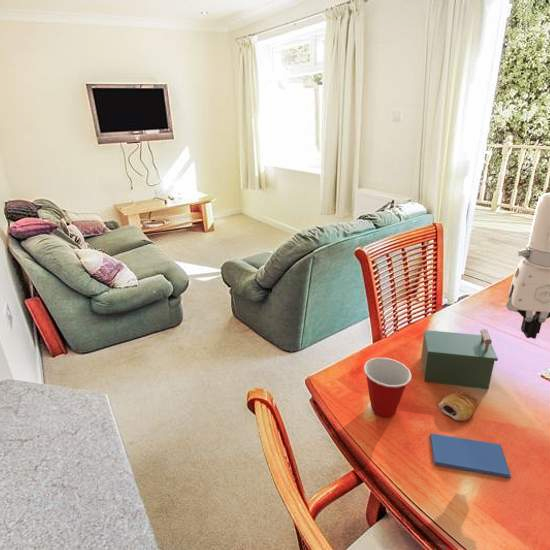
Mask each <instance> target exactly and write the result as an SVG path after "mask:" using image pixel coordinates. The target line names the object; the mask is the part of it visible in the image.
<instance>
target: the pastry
mask: <svg viewBox="0 0 550 550" xmlns="http://www.w3.org/2000/svg"><path fill="white" fill-rule="evenodd" d="M437 406H438V408H439V411H440V412H441V413H443V414H445V416H449V417H451V419H452V420H455V421H460V422H462V421H463V422H464V421H467V420H468V419H471V417H472V415H473V414H474V413H475V411H476V409H477V406H478V400H477V398H476V397H474V396H473V395H472V394H471V393H469V392H461V391H459V392H453V393H449V394H448V395H445V396H444V397H442V399H441V401H440V402H439V403H438V405H437Z"/></svg>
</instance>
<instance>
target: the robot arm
mask: <svg viewBox="0 0 550 550" xmlns="http://www.w3.org/2000/svg"><path fill="white" fill-rule="evenodd" d="M517 254H518V257H522V258H521V259H520V261H519V263H518V265H517V267H516V270H515V272H514V275H513V277H512V280H511V284H510V286H509V290H508V301H507V302H506V304H505V307H506V309H507V310H508V311H511V312H515V313H518V314H519V315H520V316H521V317H522V322H521V327H520V331H521V332H522V333H523V334H524V336H525V338H526V339H533V340H535V339H537V335H538V334H540V331H541V328H542V324H544V323H545V322H546V320H547V319H550V192H545V193H543V194H542V195H541V196H539V198H538V200H537V204H536V208H535V211H534V216H533V220H532V225H531V231H530V235H529V239H528V244H526V246H525V248H523V249H518V252H517Z"/></svg>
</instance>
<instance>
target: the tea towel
mask: <svg viewBox="0 0 550 550" xmlns="http://www.w3.org/2000/svg"><path fill="white" fill-rule="evenodd" d="M430 441H431V442H430V443H431V450H432V458H433V459H432V460H433V465H434V466H439V467H446V468H450V469H457V470H462V471H467V472H472V473H473V472H474V473H480V474H484V475H489V476H496V477H501V478H507V479H511V478H512V475H511V472H510V469H509V466H508V463H507V460H506V457H505V454H504V451H503V448H502V445H501V443H495V442H488V441H482V440H481V441H480V440H476V439H470V438H463V437H456V436H452V435H451V436H450V435H443V434H437V433H430Z"/></svg>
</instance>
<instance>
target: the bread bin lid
mask: <svg viewBox="0 0 550 550" xmlns="http://www.w3.org/2000/svg"><path fill="white" fill-rule="evenodd" d="M424 334H425V340H426V347H427V353H428V354H433V355H443V356H453V357H462V358H472V359H481V360H491V361H494V362H498V355H497V353H496V351H495V349H494V347H493V344H492V343H493V342H492V341H493V340H492V338H491V337H490V334H489V332H488V329H486V328H482V329H480V334H476V333H475V334H473V333H464V332H452V331H451V332H450V331H441V330H430V329H429V330H428V329H424V330H423V335H424Z"/></svg>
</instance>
